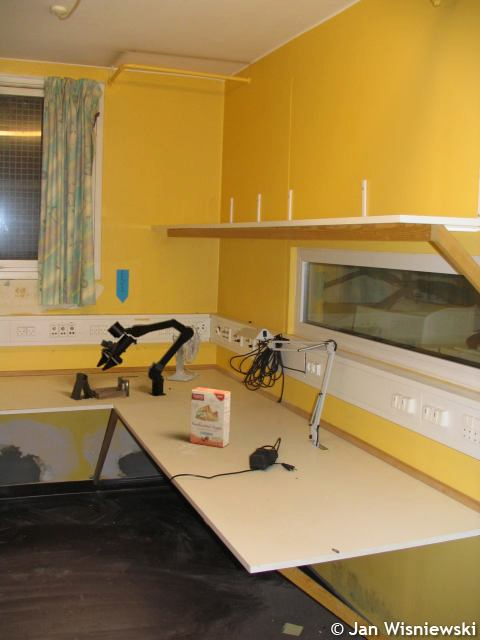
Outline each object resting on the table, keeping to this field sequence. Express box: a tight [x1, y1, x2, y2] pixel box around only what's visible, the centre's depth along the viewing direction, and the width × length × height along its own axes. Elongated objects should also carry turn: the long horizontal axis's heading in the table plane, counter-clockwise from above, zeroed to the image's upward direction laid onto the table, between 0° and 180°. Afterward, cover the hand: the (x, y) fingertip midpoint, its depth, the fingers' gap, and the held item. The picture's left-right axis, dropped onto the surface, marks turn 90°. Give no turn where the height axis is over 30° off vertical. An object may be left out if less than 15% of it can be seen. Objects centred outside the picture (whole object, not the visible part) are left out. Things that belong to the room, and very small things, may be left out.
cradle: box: [90, 376, 130, 400], centre depth 345 cm, size 11×16×8 cm
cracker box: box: [190, 386, 231, 449], centre depth 269 cm, size 14×6×21 cm, turn 66°
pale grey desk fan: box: [166, 325, 202, 382], centre depth 395 cm, size 30×22×30 cm
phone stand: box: [70, 372, 94, 401], centre depth 338 cm, size 9×6×12 cm, turn 129°
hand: (99, 368), depth 342 cm, fingers open, 9 cm apart
